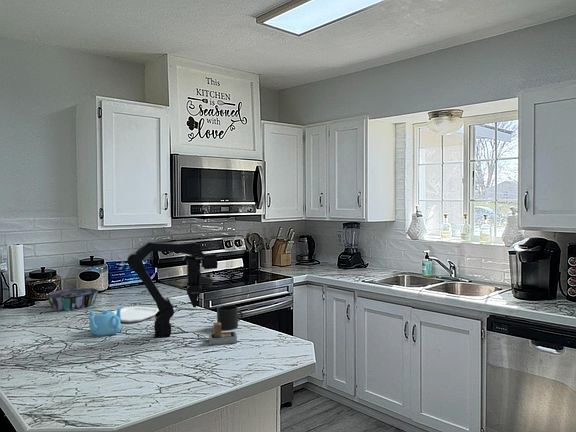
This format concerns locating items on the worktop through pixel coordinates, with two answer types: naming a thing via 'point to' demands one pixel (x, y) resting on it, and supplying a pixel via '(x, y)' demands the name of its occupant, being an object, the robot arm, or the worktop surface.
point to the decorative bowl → (72, 298)
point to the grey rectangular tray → (222, 339)
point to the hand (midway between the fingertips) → (194, 305)
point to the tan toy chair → (219, 331)
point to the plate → (136, 313)
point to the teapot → (105, 322)
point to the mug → (228, 317)
